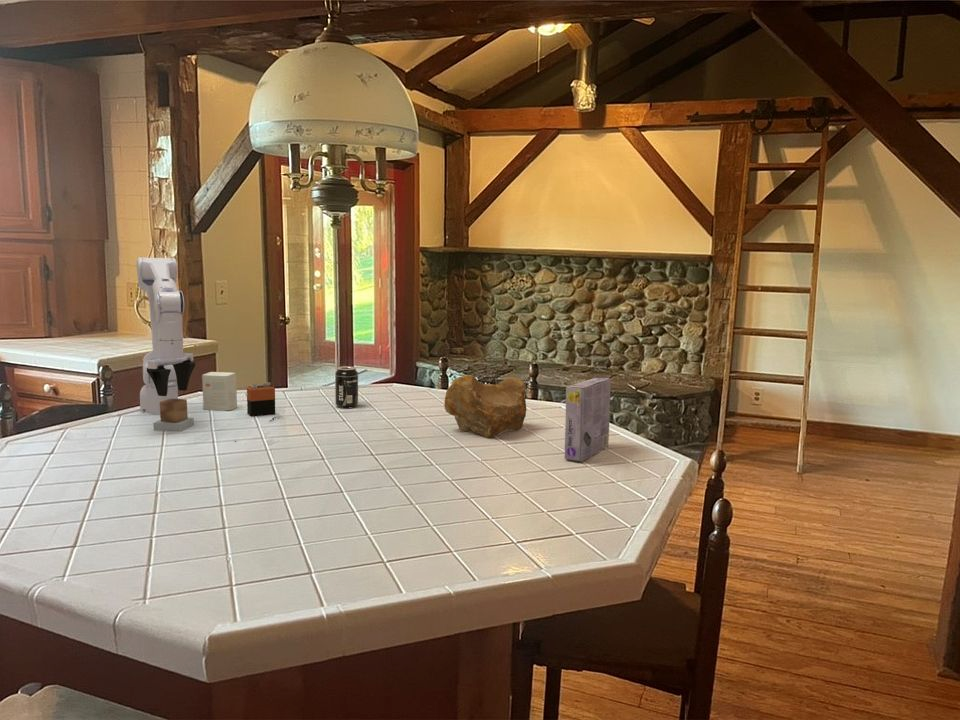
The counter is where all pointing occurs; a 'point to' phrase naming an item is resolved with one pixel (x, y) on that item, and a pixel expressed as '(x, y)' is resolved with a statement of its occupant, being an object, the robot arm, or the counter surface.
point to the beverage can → (346, 387)
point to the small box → (219, 390)
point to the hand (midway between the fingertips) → (172, 392)
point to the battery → (261, 400)
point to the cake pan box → (587, 418)
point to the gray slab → (173, 425)
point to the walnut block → (173, 410)
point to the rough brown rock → (487, 405)
